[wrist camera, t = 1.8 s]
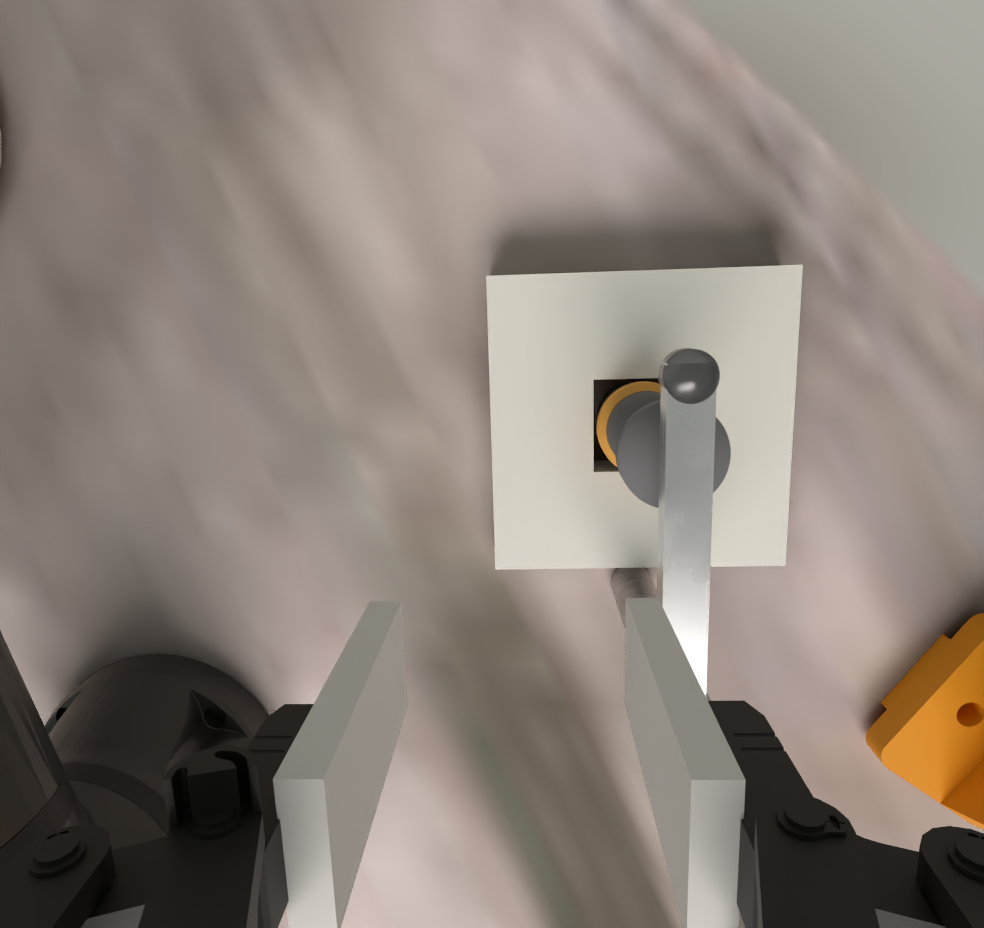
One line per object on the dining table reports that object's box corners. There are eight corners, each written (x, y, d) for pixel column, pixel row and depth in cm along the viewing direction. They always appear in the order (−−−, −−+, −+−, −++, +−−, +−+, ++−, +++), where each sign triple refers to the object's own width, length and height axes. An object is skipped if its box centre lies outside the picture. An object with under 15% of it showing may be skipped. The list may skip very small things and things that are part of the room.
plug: (590, 459, 41) (615, 513, 29) (590, 376, 40) (616, 399, 28) (673, 457, 40) (730, 511, 29) (675, 374, 39) (735, 396, 28)
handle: (610, 601, 42) (652, 737, 28) (612, 339, 39) (659, 350, 25) (650, 601, 42) (711, 738, 28) (655, 337, 39) (726, 348, 25)
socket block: (497, 552, 42) (495, 569, 39) (489, 278, 39) (486, 275, 36) (766, 548, 41) (785, 565, 38) (781, 268, 38) (802, 264, 35)
